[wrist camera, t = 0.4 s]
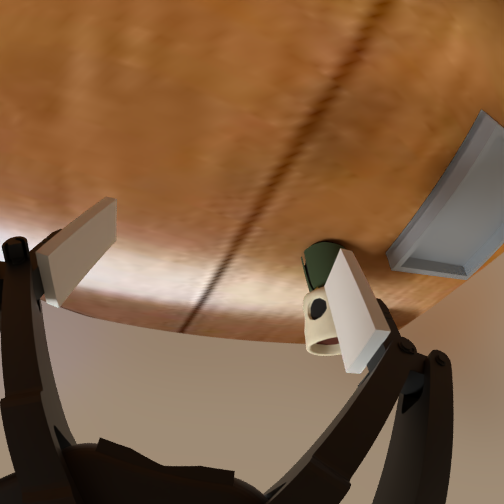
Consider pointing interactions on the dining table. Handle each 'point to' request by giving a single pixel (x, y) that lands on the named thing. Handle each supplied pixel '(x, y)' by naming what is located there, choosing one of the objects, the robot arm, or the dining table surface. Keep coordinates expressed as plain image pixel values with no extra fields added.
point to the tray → (459, 211)
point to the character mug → (319, 300)
